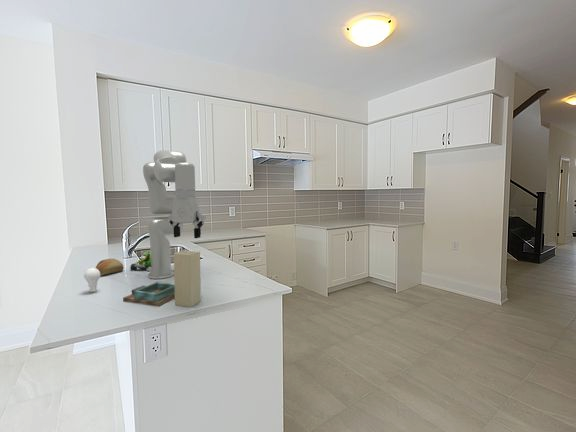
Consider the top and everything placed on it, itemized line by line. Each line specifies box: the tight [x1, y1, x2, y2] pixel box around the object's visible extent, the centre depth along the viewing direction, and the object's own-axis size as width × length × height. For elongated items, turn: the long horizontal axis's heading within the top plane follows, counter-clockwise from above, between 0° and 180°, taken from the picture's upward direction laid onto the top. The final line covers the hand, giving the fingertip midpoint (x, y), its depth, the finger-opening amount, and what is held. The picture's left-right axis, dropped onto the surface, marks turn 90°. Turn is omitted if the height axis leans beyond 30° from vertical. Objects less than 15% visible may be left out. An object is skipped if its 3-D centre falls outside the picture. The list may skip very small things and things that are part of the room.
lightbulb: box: [83, 267, 101, 293], centre depth 130 cm, size 6×6×11 cm
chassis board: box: [122, 281, 175, 307], centre depth 124 cm, size 18×14×4 cm
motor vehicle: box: [129, 250, 151, 271], centre depth 174 cm, size 12×19×11 cm, turn 173°
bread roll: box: [95, 258, 124, 277], centre depth 160 cm, size 10×15×8 cm, turn 156°
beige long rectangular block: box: [173, 249, 202, 308], centre depth 117 cm, size 8×7×21 cm
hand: (187, 237), depth 116 cm, fingers open, 9 cm apart
